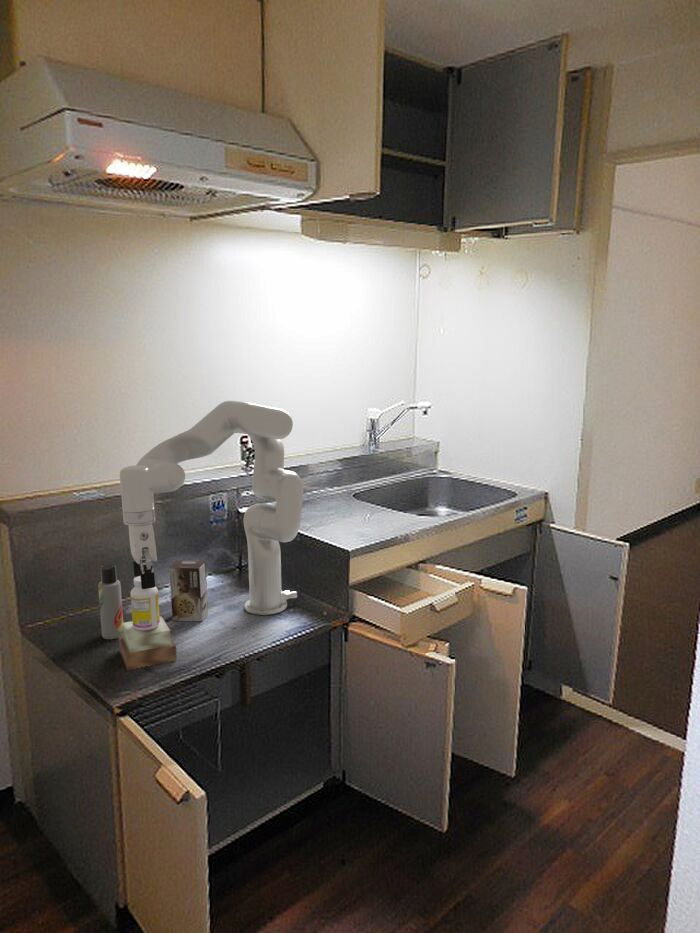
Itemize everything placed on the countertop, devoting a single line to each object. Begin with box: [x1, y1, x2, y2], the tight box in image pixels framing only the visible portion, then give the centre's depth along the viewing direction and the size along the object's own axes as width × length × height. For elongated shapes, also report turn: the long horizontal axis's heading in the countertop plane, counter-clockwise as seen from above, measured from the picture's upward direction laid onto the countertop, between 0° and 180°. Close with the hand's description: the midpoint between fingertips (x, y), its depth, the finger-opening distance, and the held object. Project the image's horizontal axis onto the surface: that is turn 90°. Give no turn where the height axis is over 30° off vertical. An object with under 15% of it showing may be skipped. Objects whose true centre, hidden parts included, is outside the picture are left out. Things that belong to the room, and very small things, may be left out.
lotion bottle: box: [97, 563, 124, 640], centre depth 196 cm, size 6×6×20 cm
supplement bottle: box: [130, 576, 161, 631], centre depth 183 cm, size 7×7×13 cm
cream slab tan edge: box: [118, 615, 177, 671], centre depth 185 cm, size 12×12×8 cm
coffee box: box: [168, 560, 209, 622], centre depth 208 cm, size 9×6×16 cm
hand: (144, 581), depth 182 cm, fingers open, 9 cm apart
